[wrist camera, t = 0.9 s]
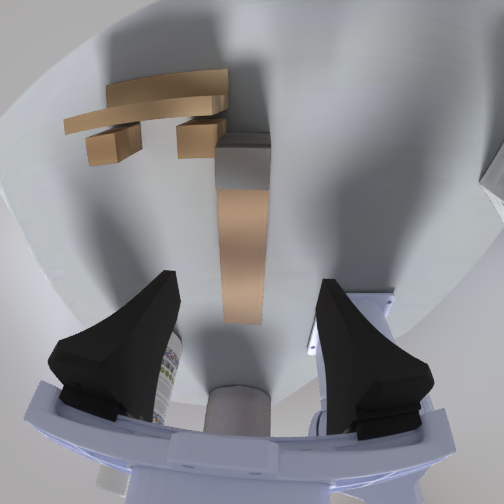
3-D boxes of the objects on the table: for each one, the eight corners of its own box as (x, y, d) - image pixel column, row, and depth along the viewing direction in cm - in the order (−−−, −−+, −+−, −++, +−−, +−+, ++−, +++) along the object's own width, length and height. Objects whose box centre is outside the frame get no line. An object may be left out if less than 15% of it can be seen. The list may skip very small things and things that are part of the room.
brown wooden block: (262, 288, 25) (261, 329, 21) (230, 287, 26) (223, 327, 21) (269, 132, 18) (271, 145, 14) (227, 131, 18) (214, 144, 14)
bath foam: (147, 310, 28) (85, 483, 11) (194, 343, 31) (160, 508, 14) (121, 332, 31) (67, 473, 14) (163, 360, 33) (128, 498, 17)
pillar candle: (252, 414, 42) (249, 492, 29) (199, 400, 39) (187, 483, 27) (283, 393, 37) (284, 486, 24) (222, 377, 35) (211, 478, 22)
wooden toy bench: (228, 145, 18) (213, 166, 13) (115, 152, 19) (71, 176, 14) (228, 69, 15) (212, 59, 10) (109, 85, 16) (61, 90, 11)
